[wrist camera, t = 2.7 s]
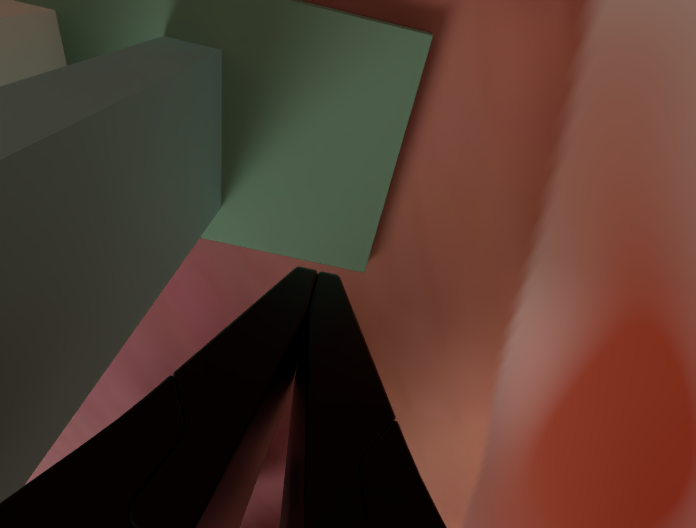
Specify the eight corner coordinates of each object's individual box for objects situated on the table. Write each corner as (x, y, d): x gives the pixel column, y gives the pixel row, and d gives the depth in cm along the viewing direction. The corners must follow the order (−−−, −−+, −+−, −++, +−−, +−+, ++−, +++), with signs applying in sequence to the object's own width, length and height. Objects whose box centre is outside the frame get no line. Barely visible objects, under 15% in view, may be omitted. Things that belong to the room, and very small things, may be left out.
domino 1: (221, 207, 14) (-10, 533, 6) (175, 197, 14) (-123, 515, 6) (222, 49, 11) (-251, 283, 3) (163, 35, 11) (-487, 235, 3)
